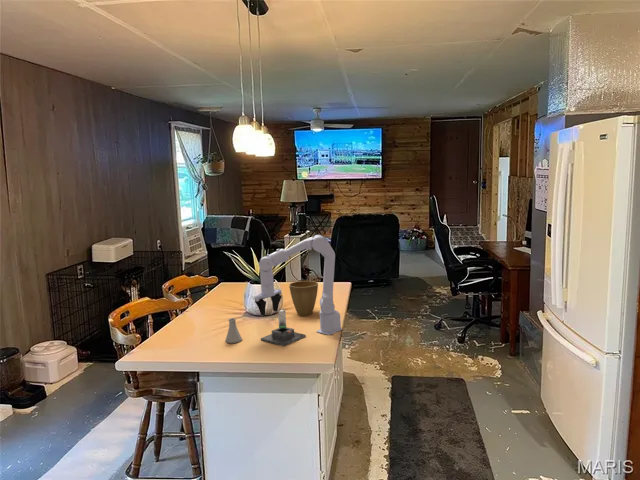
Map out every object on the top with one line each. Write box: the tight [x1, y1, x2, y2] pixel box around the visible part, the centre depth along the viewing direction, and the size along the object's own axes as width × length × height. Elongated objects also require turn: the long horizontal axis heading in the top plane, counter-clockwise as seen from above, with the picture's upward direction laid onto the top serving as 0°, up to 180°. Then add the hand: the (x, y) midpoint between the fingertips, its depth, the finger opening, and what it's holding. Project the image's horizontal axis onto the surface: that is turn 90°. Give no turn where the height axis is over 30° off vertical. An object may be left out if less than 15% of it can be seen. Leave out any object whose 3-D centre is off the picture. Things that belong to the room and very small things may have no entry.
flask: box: [225, 317, 243, 344], centre depth 214 cm, size 7×7×10 cm
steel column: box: [277, 308, 287, 329], centre depth 212 cm, size 3×3×8 cm
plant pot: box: [288, 280, 319, 317], centre depth 248 cm, size 15×15×16 cm
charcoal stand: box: [260, 326, 307, 347], centre depth 213 cm, size 14×14×4 cm
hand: (269, 313), depth 217 cm, fingers open, 7 cm apart
